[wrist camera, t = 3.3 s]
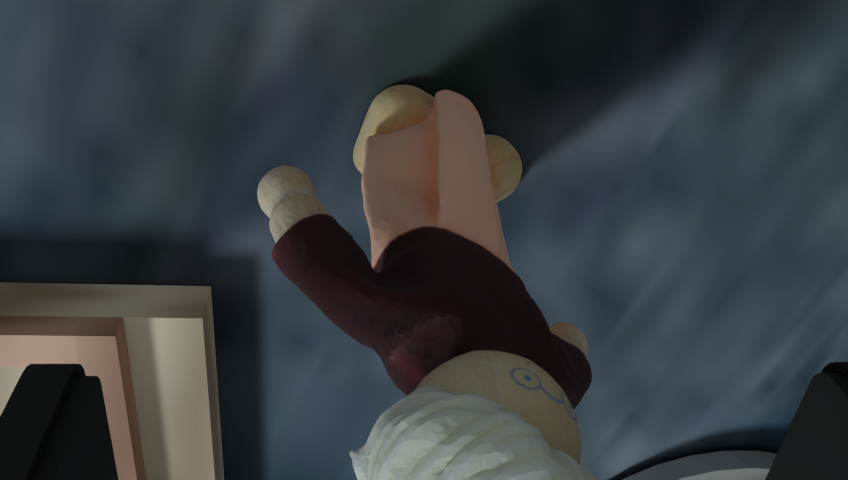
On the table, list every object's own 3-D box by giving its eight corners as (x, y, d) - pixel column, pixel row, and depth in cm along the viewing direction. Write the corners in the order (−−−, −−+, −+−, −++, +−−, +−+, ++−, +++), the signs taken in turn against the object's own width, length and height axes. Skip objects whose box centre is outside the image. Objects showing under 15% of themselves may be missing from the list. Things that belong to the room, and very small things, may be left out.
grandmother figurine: (583, 134, 20) (866, 551, 9) (515, 250, 22) (686, 720, 11) (303, 17, 18) (240, 383, 7) (251, 157, 19) (135, 627, 9)
